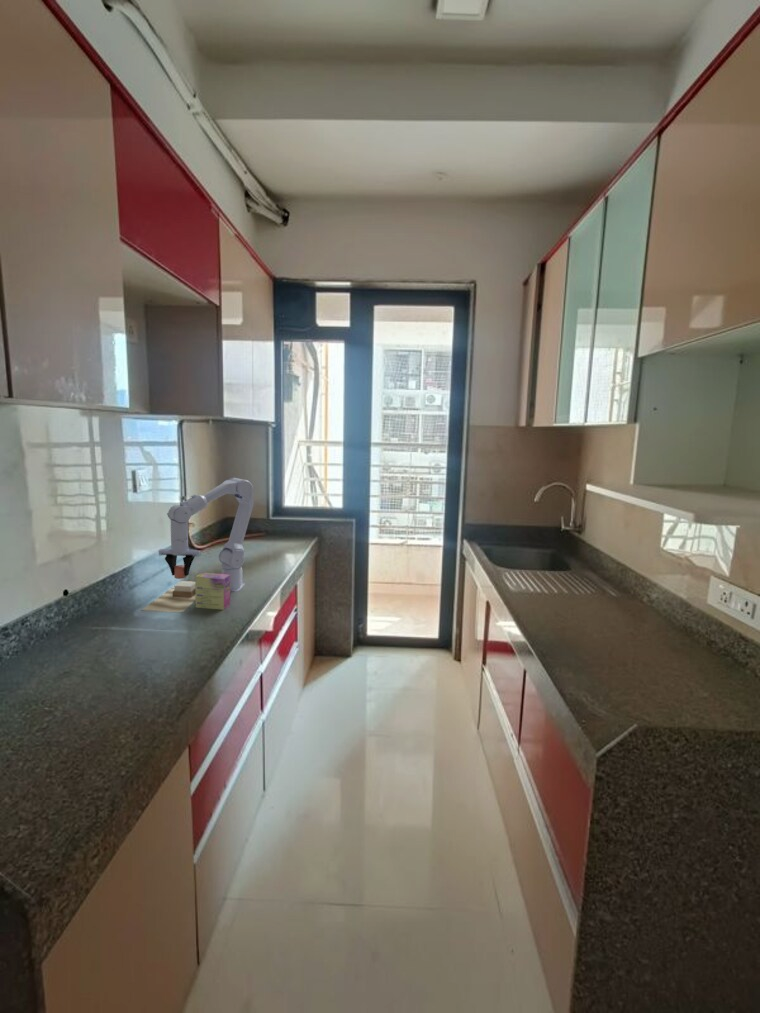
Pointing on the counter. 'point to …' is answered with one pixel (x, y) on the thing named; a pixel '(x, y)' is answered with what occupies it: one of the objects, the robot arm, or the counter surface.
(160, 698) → the counter surface
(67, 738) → the counter surface
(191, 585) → the top block
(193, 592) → the bottom block
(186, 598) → the board
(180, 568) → the cylinder
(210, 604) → the box
